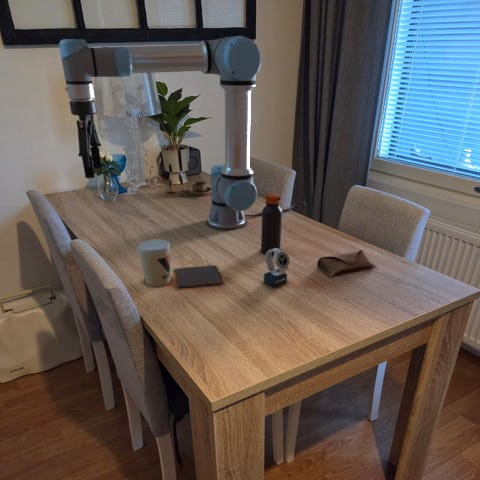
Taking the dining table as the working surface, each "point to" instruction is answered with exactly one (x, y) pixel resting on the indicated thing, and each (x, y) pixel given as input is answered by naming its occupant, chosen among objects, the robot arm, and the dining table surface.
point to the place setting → (194, 189)
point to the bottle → (271, 224)
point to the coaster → (197, 276)
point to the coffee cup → (155, 261)
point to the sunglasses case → (344, 263)
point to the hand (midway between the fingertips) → (94, 172)
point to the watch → (278, 275)
